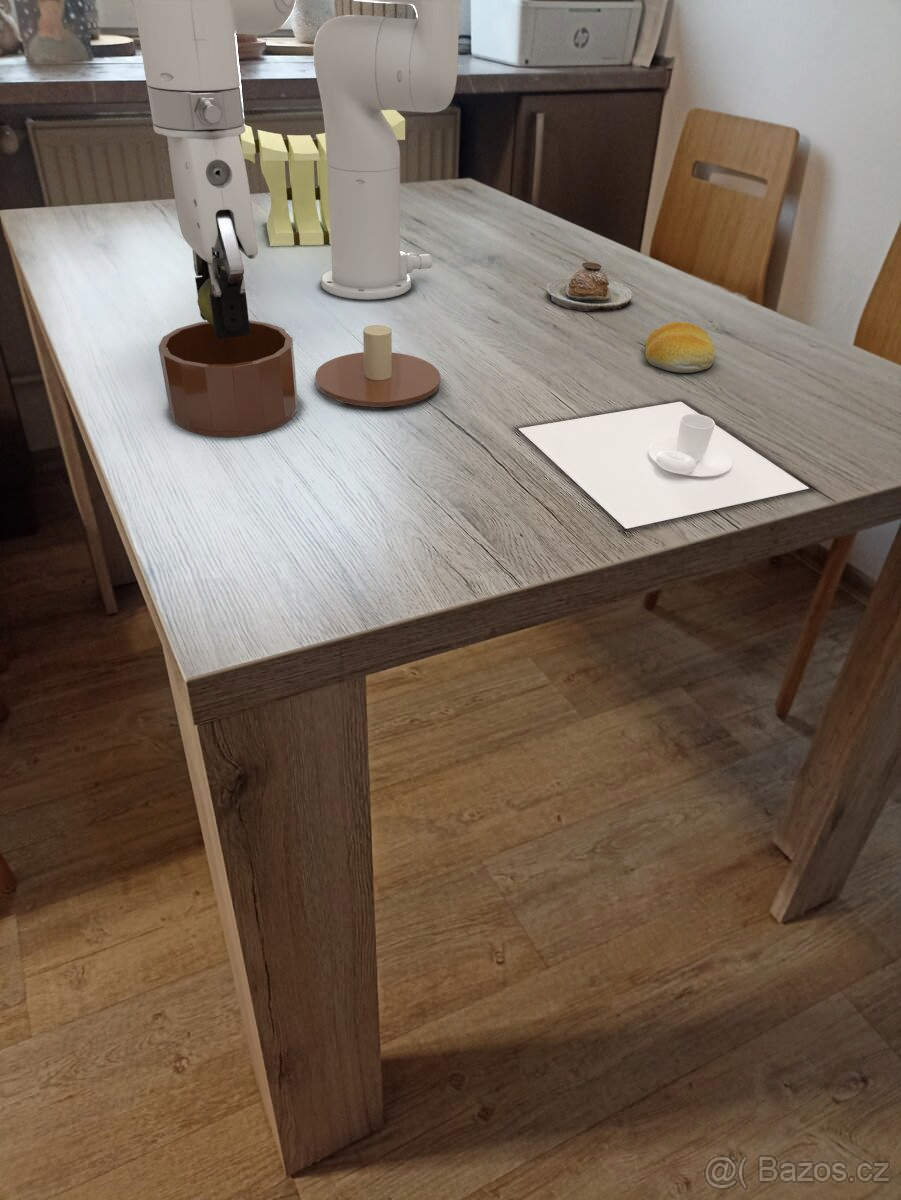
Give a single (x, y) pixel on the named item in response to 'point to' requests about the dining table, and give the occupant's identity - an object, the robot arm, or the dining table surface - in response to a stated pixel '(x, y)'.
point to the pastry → (589, 290)
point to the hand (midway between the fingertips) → (225, 324)
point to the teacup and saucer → (659, 463)
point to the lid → (377, 374)
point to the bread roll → (680, 348)
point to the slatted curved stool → (298, 181)
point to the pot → (229, 379)
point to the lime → (206, 301)
